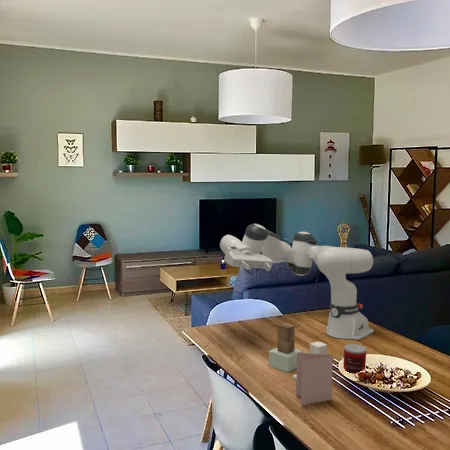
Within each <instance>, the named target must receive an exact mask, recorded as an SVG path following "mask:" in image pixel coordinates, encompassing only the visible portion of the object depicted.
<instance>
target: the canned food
mask: <svg viewBox="0 0 450 450" xmlns="http://www.w3.org/2000/svg"><path fill="white" fill-rule="evenodd" d="M366 363H367V348H366V347H365V346H363V345H361V344H356V343H350V344H346V345H344V347H343V368H344V369H345V371H347V372H349V373H357V372H360V371H363V370H364V369H365V370H366Z"/></svg>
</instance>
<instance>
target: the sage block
mask: <svg viewBox="0 0 450 450" xmlns="http://www.w3.org/2000/svg"><path fill="white" fill-rule="evenodd" d="M297 352H300V353H303V350H301V349H298V348H294V351H293V352H291V353H288V354H285V353H282V352H279V351H278V347H275V348H273V349H270V350H269V351H268V367H271V368H274V369H277V370H280V371H281V372H285V373H290V372H292V371H294V370H297Z"/></svg>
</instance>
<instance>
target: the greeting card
mask: <svg viewBox="0 0 450 450" xmlns="http://www.w3.org/2000/svg"><path fill="white" fill-rule="evenodd" d="M333 356H334V355H331V354H327V355H322V354H311V353H310V352H302V353H300V352H297V368H296V374H297V378H296V379H295V380H296V385H295V386H296V387H295V397H300V396H301V397H300V406H301V405H303V406H305V405H304V404H308V405H311V404H310V403H313V404H316V403H315V402H318V403H322V402H321V401H323V402H328V401H332V391H333V367H334V366H333V363H334V359H333V358H334V357H333ZM327 400H328V401H327Z"/></svg>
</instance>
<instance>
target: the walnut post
mask: <svg viewBox="0 0 450 450" xmlns="http://www.w3.org/2000/svg"><path fill="white" fill-rule="evenodd" d="M277 348H278V351H279V352H282V353H285V354H288V353H291V352H293V351H294V349H295V325H294V324H290V323H288V322H283V323H281V324H280V323H279V324H278V325H277Z"/></svg>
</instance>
